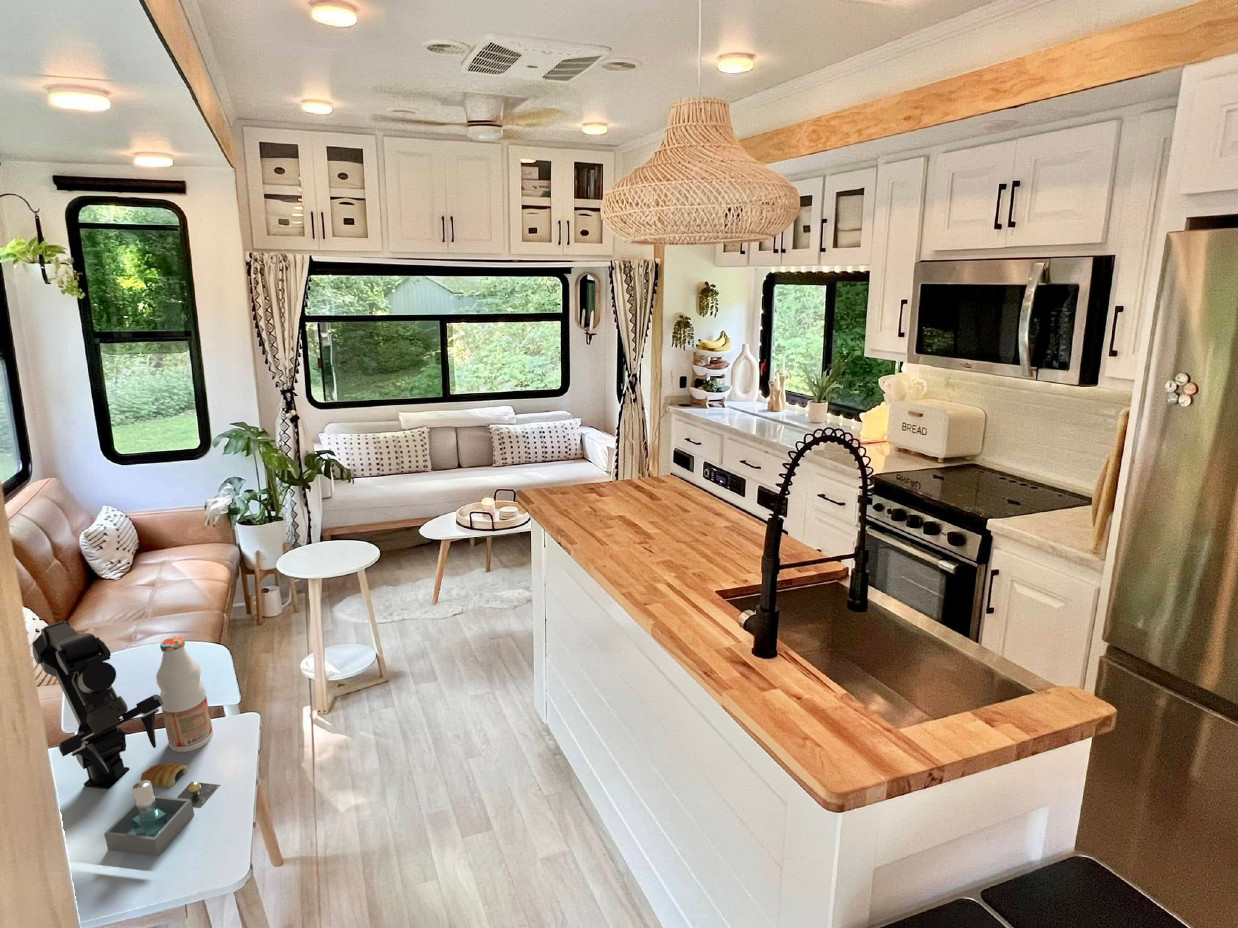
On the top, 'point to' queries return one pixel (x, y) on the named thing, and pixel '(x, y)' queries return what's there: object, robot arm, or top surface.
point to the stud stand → (198, 793)
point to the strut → (147, 811)
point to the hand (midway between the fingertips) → (131, 759)
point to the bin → (145, 844)
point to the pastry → (164, 774)
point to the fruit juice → (183, 698)
